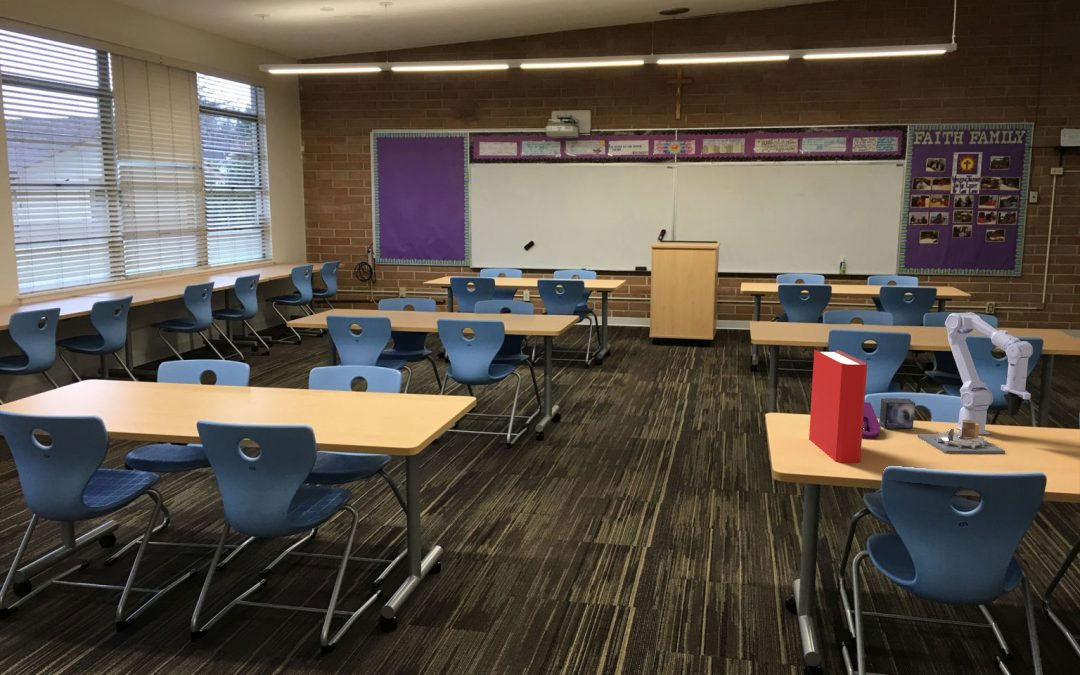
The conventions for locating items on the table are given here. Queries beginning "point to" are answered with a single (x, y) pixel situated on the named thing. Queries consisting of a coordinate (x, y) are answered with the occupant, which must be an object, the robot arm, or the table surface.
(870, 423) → the mounting bracket
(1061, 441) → the table surface
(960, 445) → the sprocket
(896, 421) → the small box
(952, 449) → the base plate
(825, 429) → the book
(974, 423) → the link block
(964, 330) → the robot arm
